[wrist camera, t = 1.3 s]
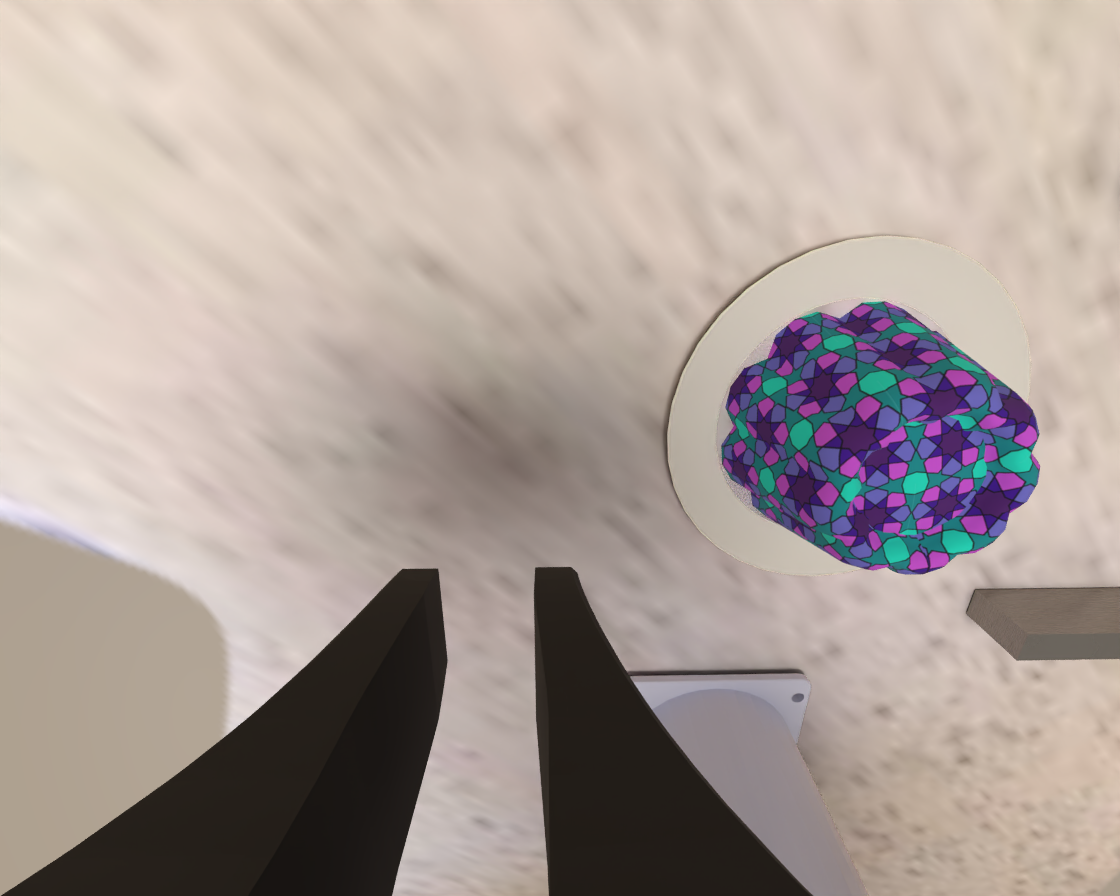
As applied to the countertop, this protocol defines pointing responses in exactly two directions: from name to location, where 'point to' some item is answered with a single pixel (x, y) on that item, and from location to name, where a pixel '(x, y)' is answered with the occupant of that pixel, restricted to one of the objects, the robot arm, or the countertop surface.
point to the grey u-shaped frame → (1051, 622)
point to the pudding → (860, 414)
